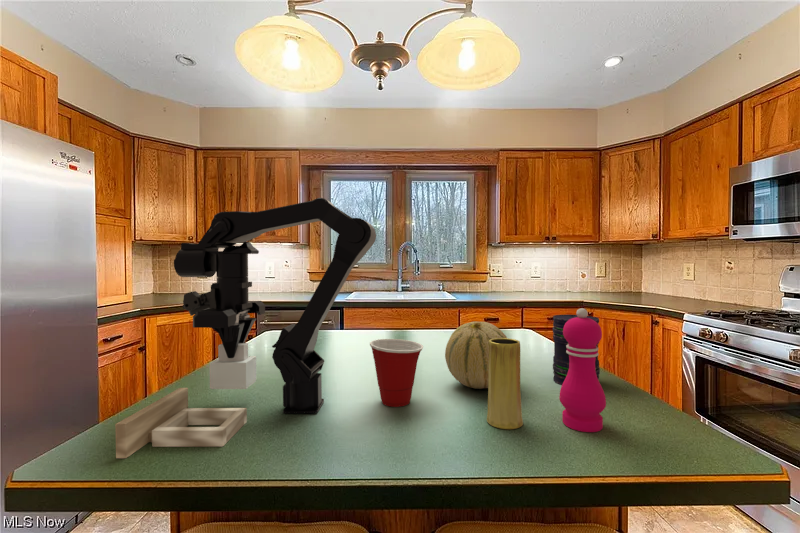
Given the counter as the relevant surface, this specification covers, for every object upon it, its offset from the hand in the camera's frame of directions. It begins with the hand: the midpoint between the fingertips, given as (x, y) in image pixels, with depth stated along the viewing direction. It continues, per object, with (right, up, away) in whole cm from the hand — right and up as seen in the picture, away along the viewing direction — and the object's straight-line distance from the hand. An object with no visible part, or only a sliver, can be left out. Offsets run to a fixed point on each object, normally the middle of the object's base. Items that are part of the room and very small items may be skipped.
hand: (233, 356), depth 76 cm
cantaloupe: (+50, -9, +10) cm, 52 cm away
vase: (+51, -10, -9) cm, 53 cm away
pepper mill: (+64, -10, -10) cm, 66 cm away
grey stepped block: (0, -6, 0) cm, 6 cm away
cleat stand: (-2, -10, -12) cm, 16 cm away
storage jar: (+73, -9, +13) cm, 75 cm away
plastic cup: (+32, -10, +2) cm, 34 cm away
